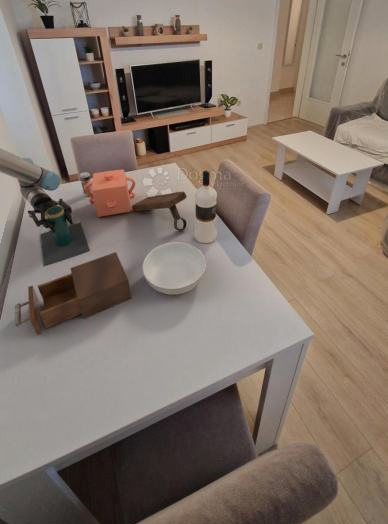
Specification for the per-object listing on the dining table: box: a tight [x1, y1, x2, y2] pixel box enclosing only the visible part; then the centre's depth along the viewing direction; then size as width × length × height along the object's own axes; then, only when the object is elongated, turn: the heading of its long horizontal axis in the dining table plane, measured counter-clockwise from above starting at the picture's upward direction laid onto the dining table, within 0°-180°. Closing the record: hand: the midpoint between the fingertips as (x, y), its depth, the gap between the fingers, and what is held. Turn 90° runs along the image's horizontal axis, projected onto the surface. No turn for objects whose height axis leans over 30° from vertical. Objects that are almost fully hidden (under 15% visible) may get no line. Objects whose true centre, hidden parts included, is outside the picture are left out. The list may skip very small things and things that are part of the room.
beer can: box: [79, 171, 93, 197], centre depth 139 cm, size 5×5×12 cm
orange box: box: [84, 169, 136, 218], centre depth 125 cm, size 25×23×18 cm
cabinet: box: [70, 251, 132, 320], centre depth 87 cm, size 15×14×9 cm
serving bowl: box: [142, 241, 207, 295], centre depth 93 cm, size 21×21×7 cm
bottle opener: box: [131, 191, 188, 232], centre depth 122 cm, size 10×16×30 cm
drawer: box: [14, 273, 82, 336], centre depth 81 cm, size 18×12×7 cm
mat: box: [39, 221, 90, 267], centre depth 110 cm, size 20×16×1 cm
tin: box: [45, 205, 72, 247], centre depth 107 cm, size 6×6×15 cm
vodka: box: [193, 170, 218, 244], centre depth 105 cm, size 9×9×30 cm
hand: (62, 225), depth 102 cm, fingers closed on tin, 6 cm apart
